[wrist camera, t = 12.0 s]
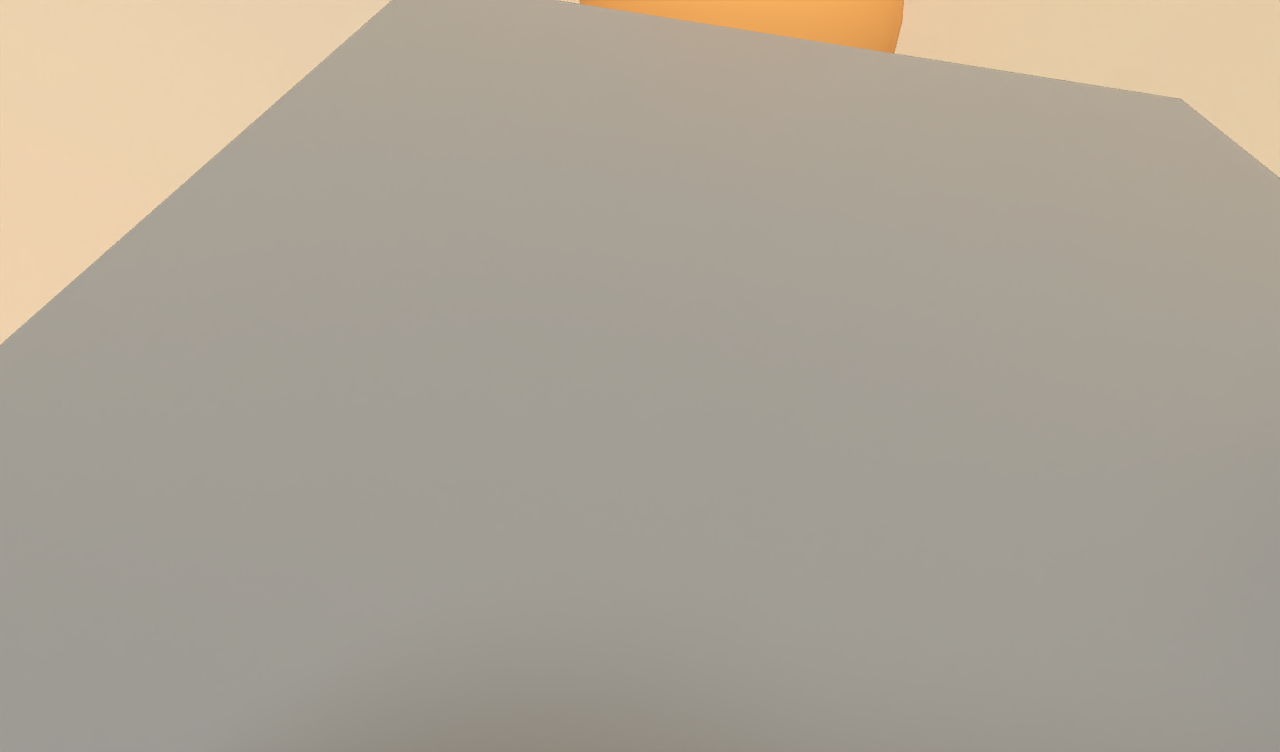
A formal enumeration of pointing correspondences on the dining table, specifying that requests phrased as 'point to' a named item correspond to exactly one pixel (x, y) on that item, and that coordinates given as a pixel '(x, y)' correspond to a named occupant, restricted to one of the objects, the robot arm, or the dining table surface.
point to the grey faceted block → (658, 414)
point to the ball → (786, 17)
